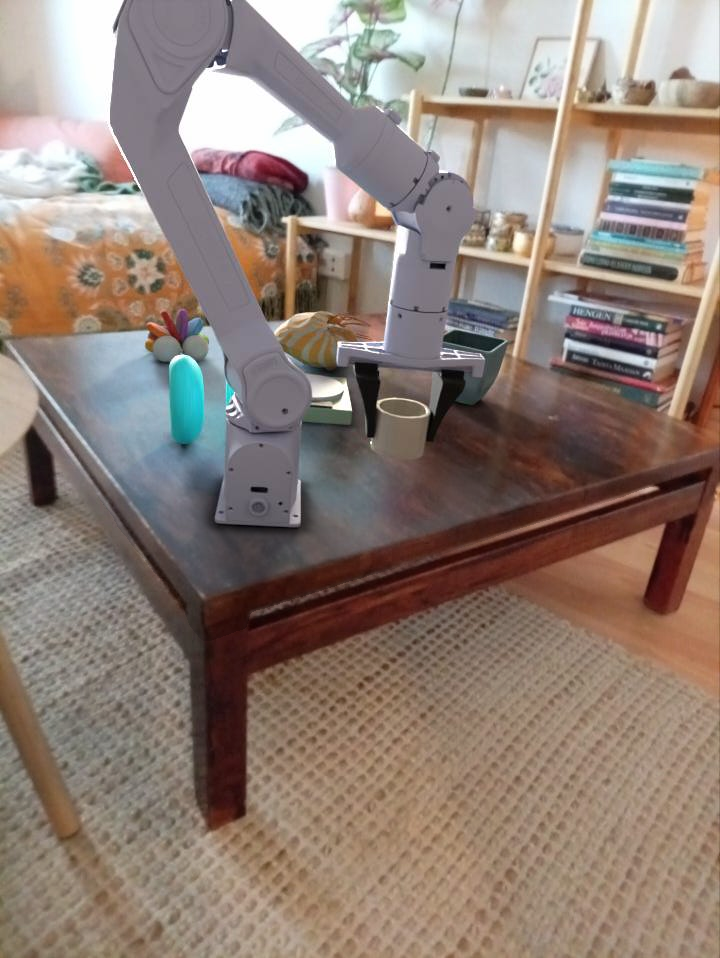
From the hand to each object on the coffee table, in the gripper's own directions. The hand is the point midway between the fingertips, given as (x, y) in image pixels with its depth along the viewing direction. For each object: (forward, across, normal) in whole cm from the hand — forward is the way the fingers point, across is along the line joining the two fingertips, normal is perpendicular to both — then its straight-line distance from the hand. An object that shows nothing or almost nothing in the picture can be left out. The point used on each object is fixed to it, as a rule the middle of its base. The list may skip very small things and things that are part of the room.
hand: (399, 436), depth 73 cm
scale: (+6, +9, -24) cm, 26 cm away
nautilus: (+6, +5, -44) cm, 45 cm away
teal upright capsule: (+6, +20, -10) cm, 23 cm away
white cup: (+1, 0, 0) cm, 1 cm away
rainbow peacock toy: (+6, +29, -41) cm, 51 cm away
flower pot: (+6, -14, -31) cm, 35 cm away
